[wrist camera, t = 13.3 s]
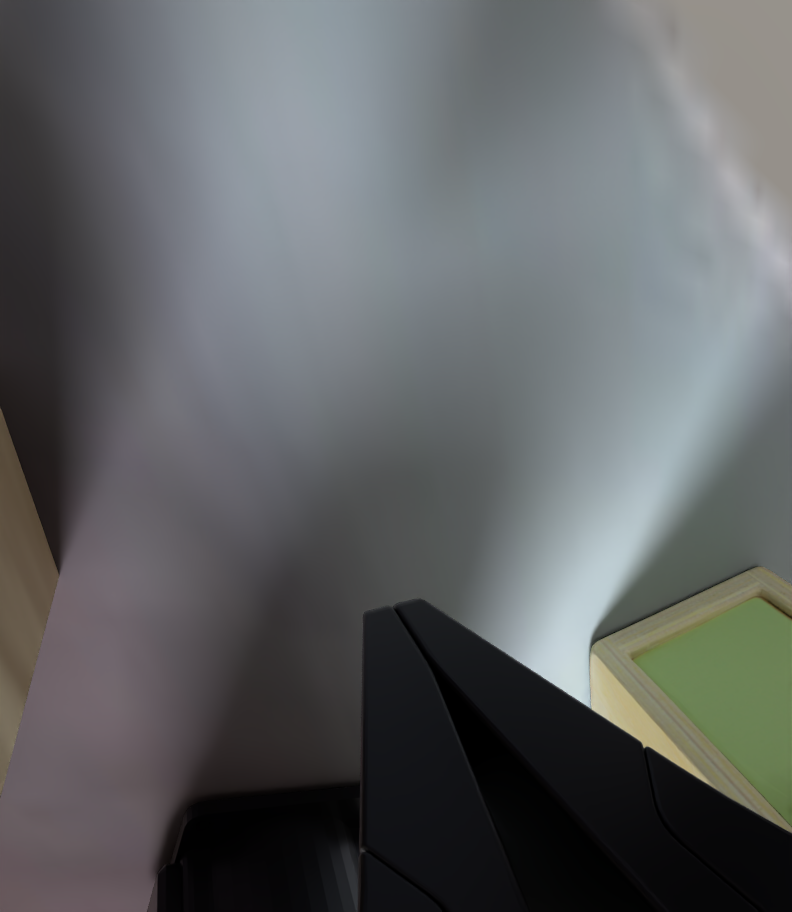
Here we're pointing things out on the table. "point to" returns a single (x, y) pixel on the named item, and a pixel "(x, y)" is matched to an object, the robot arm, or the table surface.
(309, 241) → the table surface
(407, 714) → the robot arm
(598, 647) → the toy refrigerator
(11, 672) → the domino
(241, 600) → the table surface
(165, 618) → the table surface
